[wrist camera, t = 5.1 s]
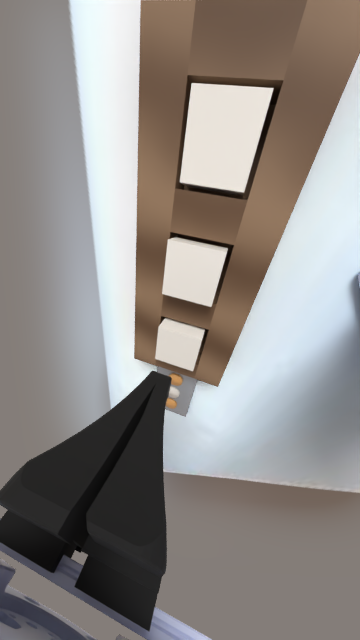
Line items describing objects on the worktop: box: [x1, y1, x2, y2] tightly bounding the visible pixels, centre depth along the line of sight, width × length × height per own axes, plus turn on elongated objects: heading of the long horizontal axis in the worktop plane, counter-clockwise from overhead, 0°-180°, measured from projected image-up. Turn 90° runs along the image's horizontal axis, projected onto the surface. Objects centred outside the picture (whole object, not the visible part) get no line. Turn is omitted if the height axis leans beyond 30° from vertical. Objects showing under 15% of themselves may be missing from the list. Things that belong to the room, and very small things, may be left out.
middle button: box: [162, 237, 228, 307], centre depth 12 cm, size 4×4×2 cm
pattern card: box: [157, 366, 197, 417], centre depth 23 cm, size 9×5×1 cm, turn 171°
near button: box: [180, 83, 274, 196], centre depth 9 cm, size 4×4×2 cm
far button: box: [155, 317, 205, 371], centre depth 15 cm, size 4×4×2 cm
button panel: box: [134, 0, 360, 387], centre depth 13 cm, size 21×9×2 cm, turn 171°
